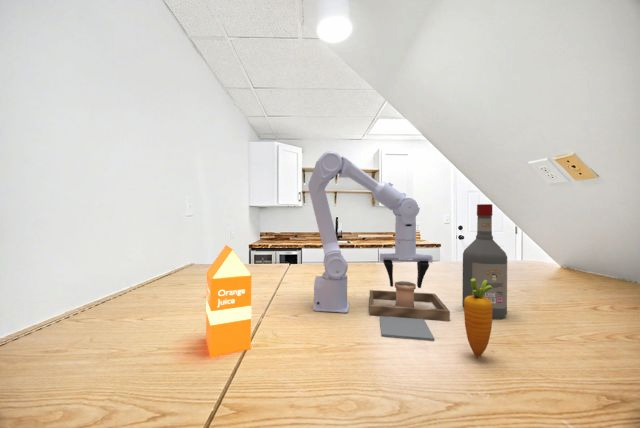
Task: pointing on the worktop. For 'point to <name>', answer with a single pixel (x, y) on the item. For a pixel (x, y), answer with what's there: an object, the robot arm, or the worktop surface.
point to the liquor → (486, 264)
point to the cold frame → (409, 312)
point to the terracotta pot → (405, 294)
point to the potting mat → (405, 328)
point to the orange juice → (228, 305)
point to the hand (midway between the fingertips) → (405, 286)
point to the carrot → (478, 318)
